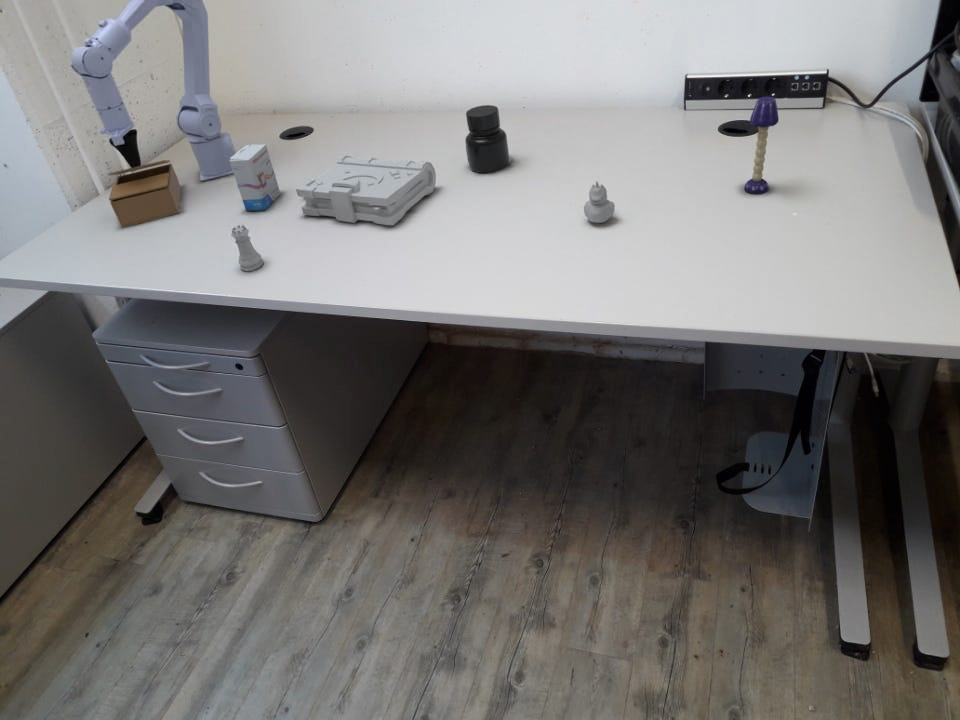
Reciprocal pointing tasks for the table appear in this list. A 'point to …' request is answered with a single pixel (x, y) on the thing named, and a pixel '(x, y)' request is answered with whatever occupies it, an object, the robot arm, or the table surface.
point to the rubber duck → (598, 205)
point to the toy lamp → (761, 141)
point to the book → (367, 189)
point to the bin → (146, 195)
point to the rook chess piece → (246, 250)
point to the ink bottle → (486, 140)
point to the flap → (139, 167)
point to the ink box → (255, 177)
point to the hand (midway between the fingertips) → (136, 165)
